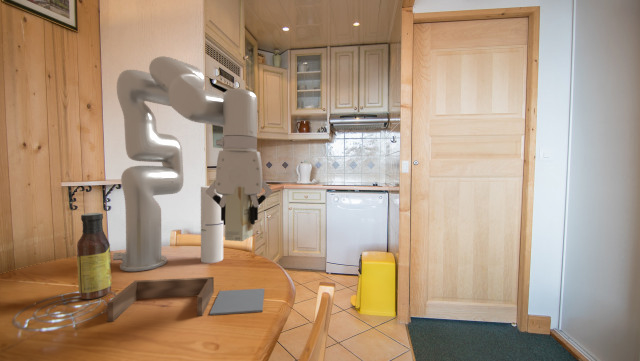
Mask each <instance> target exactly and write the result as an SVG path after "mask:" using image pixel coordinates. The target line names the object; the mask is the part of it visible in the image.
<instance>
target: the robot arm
mask: <svg viewBox="0 0 640 361" xmlns="http://www.w3.org/2000/svg"><path fill="white" fill-rule="evenodd" d="M205 82H206V81H205V75H204V73H203V72H202V70H201V69H199V68H198V67H197V66H196V65H195V66H194V65H193V64H189V63H187V62H184V61H182V60H178V59H176V58H173V57H170V56H157V57H155V58H153V59H152V60H151V61H150V63H149V66H148V72H146V71H142V70H137V69H125V70H122V72H121V73H120V74H119V76H118V78H117V81H116V94H117V95H116V96H117V99H118V100H117V101H118V103H119V106H120V108H121V111H122V114H123V121H124V124H123V125H124V141H125V143H124V145H125V151H126V155H127V156H128V158H129V159H130V160H132V161H136V162H149V163H150V162H151V163H161V164H162V165H159V166H158V165H136V166H129V167H127V168H125V169H124V171H123V172H122V174H121V178H120V180H121V181H120V182H121V187H122V190H123V195H124V203H125V204H124V206H125V251H124V252H114V253H113V255H112V260H113V261H122V262H121V263H120V264H119V269H120V270H122V271H125V272H143V271H149V270H153V269H157V268H160V267H162V266H164V265H165V264H167V262H168V257H167V256H163V255H162V209H161V205H160V204H159V203H158V201H157V200H156V199H155V198H154V196H164V195H173V194H177V193H179V192H180V191H181V190H182V189H183V186H184V165H183V164H184V160H183V159H184V158H183V149H182V148H183V147H182V145H181V142H180V140H179V139H178V138H177V137H176V136H174V135H171V134H166V133H159V132H158V130H157V119H156V116H155V114H154V113H153V111H152V109H151V108H150V107H149V106H148V105H147V104H146V102H149V103H153V104H157V105H162V106H167V107H171V108H172V109H173V110H175V112H176V113H178V114H179V115H180V116H182V118H185V119H187V120H188V121H190V122H194V123H198V124H199V123H200V124H207V125H211V126H216V127H222V131H223V132H222V136H221V137H222V138H221V139H216V141H215V142H216V143H215V144H216V146H217V147H218V146H219V147H221V148H222V150H219V151H218V153H217V160H216V167H215V168H216V170H215V180H213V182H212V183H211V184H210V185H209V186H210V187H209V188H208V189H207V190H206V191H205V192H206V194H207V195H209V196H210V197H211V198H212V199H213V200H214V201H215V202H216V203H217V204H218V205H219V206H220V207H221V221H223V226H225V211H226V195H231V194H234V189H235V187H245V195H250V197H251V200H252V203H253V204H252V207H251V224H252V225H253V226H254V225H255V223H256V221H258V219H259V206H260V205H262V203H263V202H265V200H266V199H268V197H270V196H271V195H272V194H273V193H274V191H273V189H272V188H271V187H270V186H269V185H268V184H267V183H266V181H265V180H264V179H263V165H262V164H263V163H262V157H261V152H260V151H258V97H257V94H256V93H254V92H253V91H251V90H249V89H245V88H230V89H227V90H226V91H224V93H223V94H220V93H217V92H214V91H210V90H206V89H204V87H205ZM215 189H216V192H217V193H218V194H221V195H222V198H221V197H220V196H219V195H217V194H216V193H215ZM262 190H264V192H263V193H262ZM260 193H262V195H260ZM258 195H260V196H259V197H258Z"/></svg>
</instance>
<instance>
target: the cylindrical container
mask: <svg viewBox="0 0 640 361" xmlns="http://www.w3.org/2000/svg"><path fill="white" fill-rule="evenodd" d="M209 187H210V185H205V186H200V262H201V263H203V264H214V263H219V262H222V261H223V260H224V221H221V207H220V206H219V205H218V204H217V203H216V202H215V201H214V200H213V199H212V198H211V197H210V196H209V195H207V194H206V192H205V191H206V190H207V189H208V188H209ZM215 193H216V194H217V195H219V196H220V197H221V198H222V195H221V194H218V193H217V192H216V189H215Z"/></svg>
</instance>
